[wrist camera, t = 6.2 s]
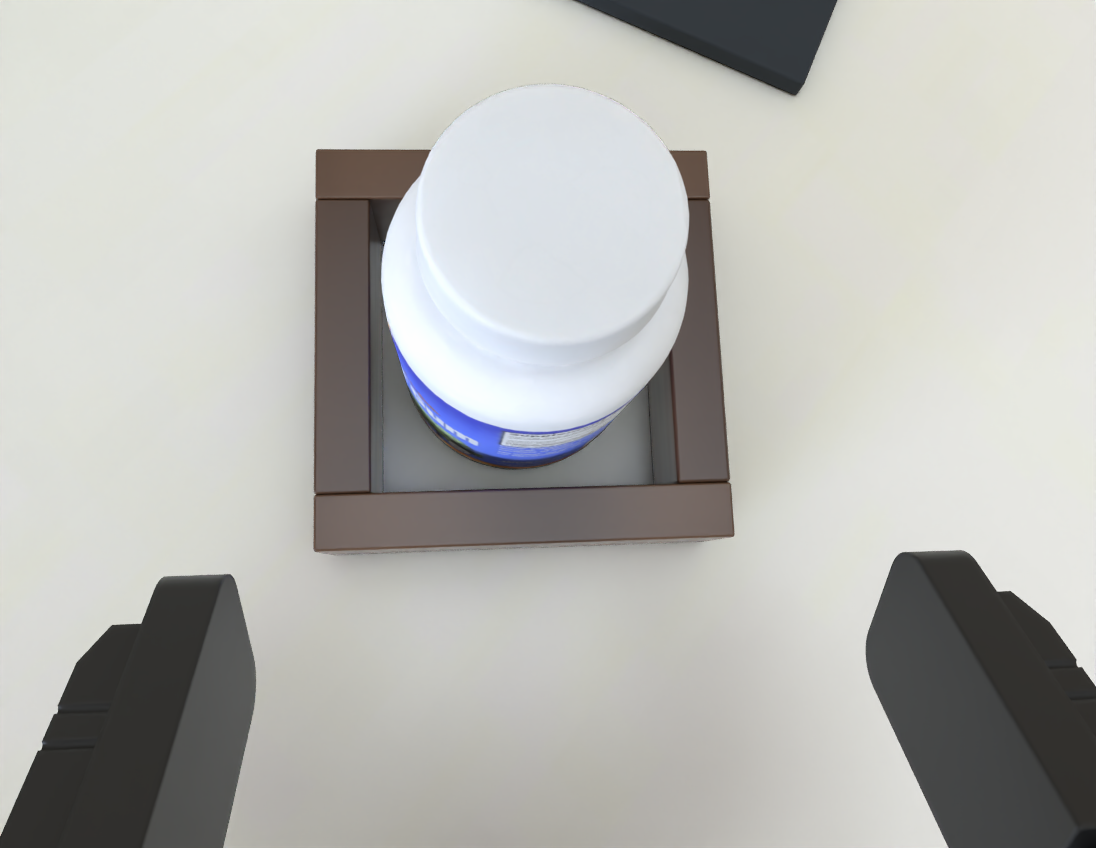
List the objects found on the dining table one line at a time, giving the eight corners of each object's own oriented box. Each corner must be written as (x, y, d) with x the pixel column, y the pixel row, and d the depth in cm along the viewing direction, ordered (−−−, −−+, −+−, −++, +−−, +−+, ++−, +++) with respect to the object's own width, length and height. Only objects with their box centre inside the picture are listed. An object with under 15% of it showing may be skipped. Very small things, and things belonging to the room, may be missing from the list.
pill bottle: (375, 303, 22) (301, 95, 13) (575, 234, 23) (649, -13, 13) (452, 507, 21) (435, 450, 12) (656, 428, 22) (794, 316, 13)
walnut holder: (332, 554, 21) (312, 551, 18) (333, 196, 22) (315, 148, 20) (704, 541, 22) (735, 536, 19) (681, 196, 23) (706, 149, 21)
